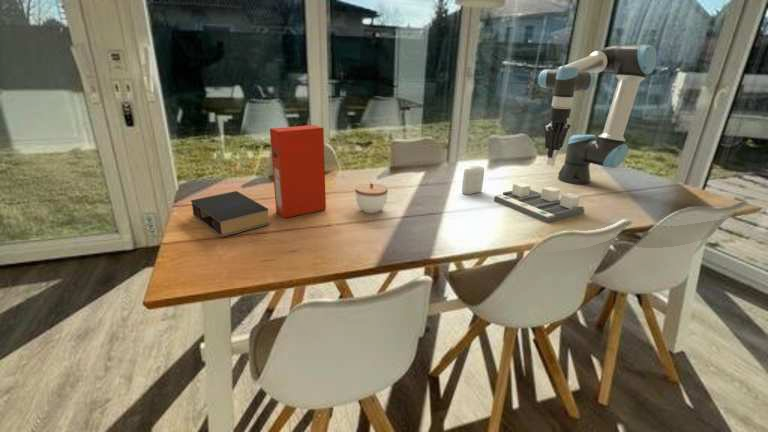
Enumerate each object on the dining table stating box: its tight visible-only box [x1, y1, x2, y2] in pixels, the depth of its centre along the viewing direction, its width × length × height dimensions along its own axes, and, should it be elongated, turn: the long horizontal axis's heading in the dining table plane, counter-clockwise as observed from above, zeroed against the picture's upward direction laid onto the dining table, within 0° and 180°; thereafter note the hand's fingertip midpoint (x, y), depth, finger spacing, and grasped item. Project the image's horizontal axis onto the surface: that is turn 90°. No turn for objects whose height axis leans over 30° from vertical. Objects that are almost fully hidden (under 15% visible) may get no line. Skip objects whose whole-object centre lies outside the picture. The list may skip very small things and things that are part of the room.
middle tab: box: [541, 186, 561, 202], centre depth 173 cm, size 5×5×4 cm
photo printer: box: [461, 165, 485, 195], centre depth 184 cm, size 10×4×12 cm, turn 123°
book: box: [190, 190, 270, 238], centre depth 147 cm, size 17×25×7 cm
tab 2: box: [560, 192, 581, 209], centre depth 165 cm, size 5×5×4 cm
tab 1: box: [511, 182, 531, 197], centre depth 177 cm, size 5×5×4 cm
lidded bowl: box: [354, 182, 389, 214], centre depth 160 cm, size 13×13×11 cm
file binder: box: [269, 124, 327, 219], centre depth 153 cm, size 8×17×32 cm, turn 126°
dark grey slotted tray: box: [493, 189, 586, 224], centre depth 170 cm, size 22×28×3 cm
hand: (550, 165), depth 172 cm, fingers closed
